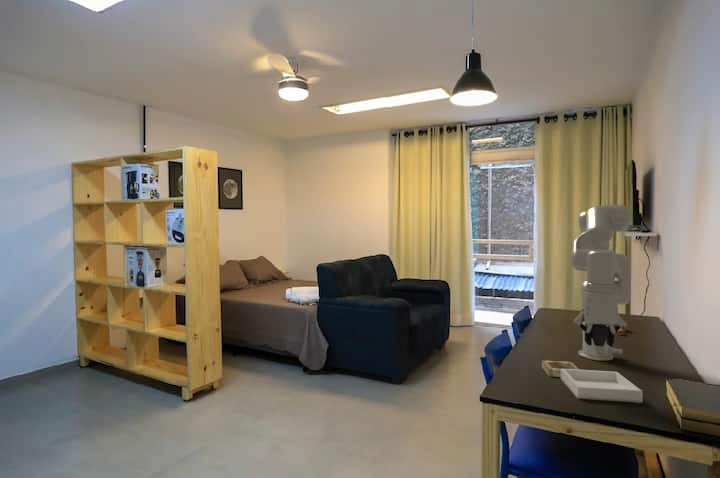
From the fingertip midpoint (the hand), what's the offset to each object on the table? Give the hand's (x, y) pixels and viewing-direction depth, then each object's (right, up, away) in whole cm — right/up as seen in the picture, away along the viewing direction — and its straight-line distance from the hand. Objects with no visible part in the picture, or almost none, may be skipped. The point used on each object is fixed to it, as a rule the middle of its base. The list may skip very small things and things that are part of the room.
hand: (599, 344), depth 136 cm
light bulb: (0, -3, 0) cm, 3 cm away
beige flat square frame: (-4, -14, +17) cm, 23 cm away
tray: (0, -15, 0) cm, 15 cm away
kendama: (+57, -14, +82) cm, 100 cm away
